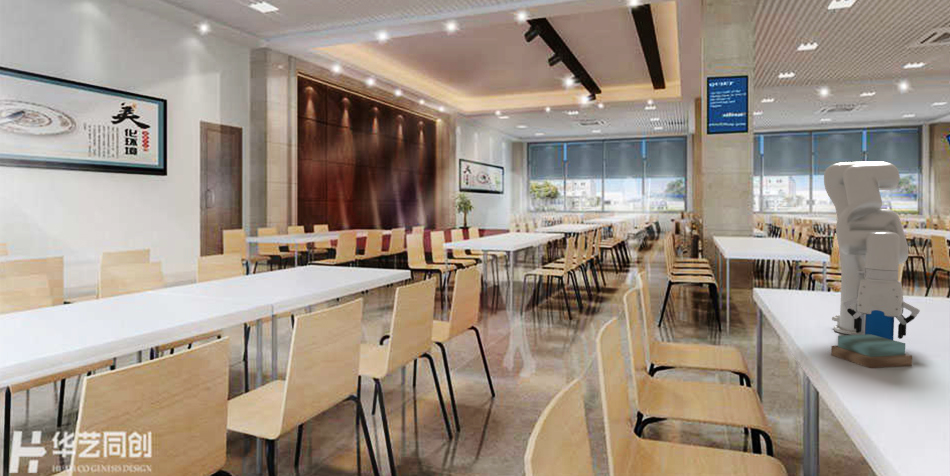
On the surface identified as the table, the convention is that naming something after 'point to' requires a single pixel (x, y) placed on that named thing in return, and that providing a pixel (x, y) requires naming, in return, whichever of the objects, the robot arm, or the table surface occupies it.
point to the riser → (871, 351)
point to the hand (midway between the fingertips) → (879, 334)
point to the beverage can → (879, 324)
